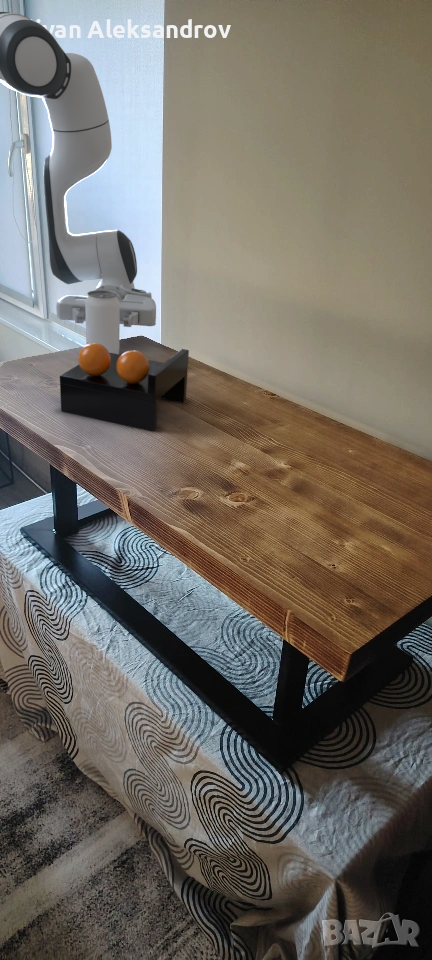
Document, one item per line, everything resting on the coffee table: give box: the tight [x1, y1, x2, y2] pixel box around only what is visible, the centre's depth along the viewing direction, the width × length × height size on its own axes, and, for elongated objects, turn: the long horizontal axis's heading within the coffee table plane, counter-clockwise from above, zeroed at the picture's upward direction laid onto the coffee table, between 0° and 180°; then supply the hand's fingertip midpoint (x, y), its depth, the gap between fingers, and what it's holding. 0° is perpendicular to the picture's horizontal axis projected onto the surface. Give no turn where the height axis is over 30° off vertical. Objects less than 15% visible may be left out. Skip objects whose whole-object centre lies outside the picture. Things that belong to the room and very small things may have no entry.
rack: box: [59, 343, 190, 432], centre depth 101 cm, size 16×14×11 cm
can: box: [85, 290, 121, 354], centre depth 122 cm, size 6×6×12 cm
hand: (103, 321), depth 123 cm, fingers open, 8 cm apart
